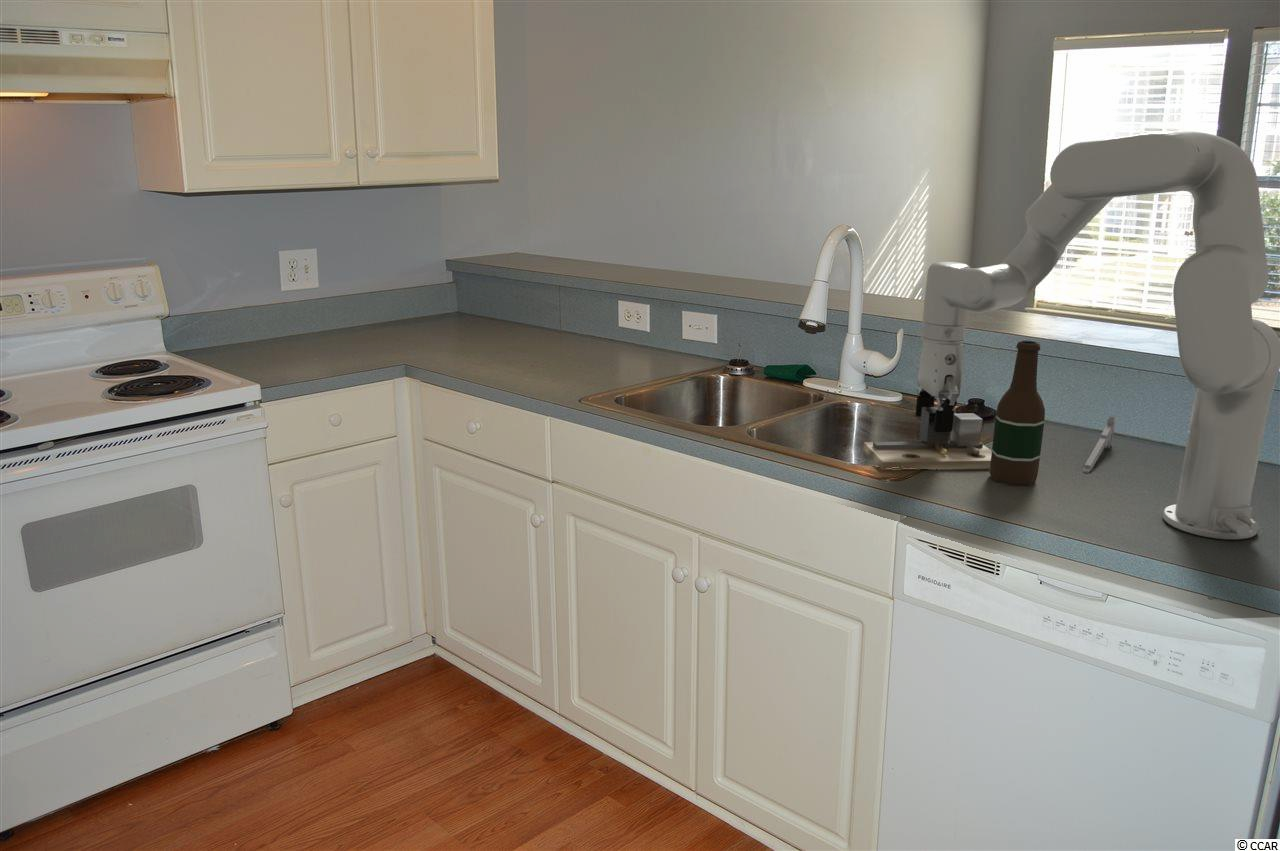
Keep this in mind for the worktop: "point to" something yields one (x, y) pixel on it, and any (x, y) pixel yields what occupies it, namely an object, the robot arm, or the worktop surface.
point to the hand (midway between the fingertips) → (933, 423)
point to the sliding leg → (932, 430)
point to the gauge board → (917, 454)
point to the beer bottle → (1019, 423)
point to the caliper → (1101, 444)
